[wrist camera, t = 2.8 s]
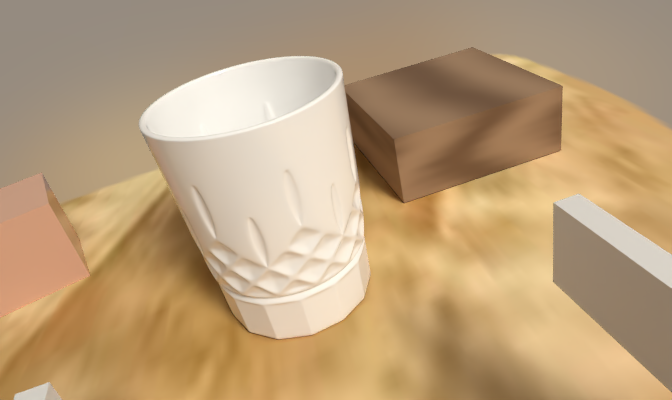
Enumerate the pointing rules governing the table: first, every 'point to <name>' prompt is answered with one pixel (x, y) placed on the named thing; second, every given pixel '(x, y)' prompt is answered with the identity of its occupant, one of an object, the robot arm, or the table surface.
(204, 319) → the table surface
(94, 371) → the table surface
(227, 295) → the white cup
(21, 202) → the terracotta cube
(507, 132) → the walnut block
